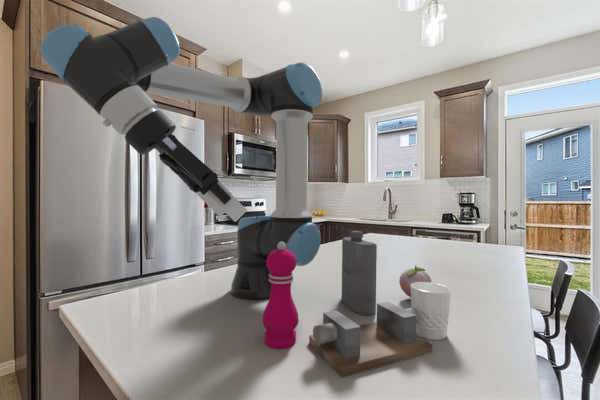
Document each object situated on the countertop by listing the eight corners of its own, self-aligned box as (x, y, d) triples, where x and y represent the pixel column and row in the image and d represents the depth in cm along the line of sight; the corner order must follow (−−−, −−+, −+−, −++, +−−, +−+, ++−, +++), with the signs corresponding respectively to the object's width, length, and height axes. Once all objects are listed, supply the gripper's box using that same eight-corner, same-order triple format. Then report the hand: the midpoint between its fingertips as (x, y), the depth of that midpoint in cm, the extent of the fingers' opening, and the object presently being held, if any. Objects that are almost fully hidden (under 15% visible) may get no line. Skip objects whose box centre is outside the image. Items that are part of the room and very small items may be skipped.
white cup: (447, 345, 58) (448, 295, 57) (406, 335, 62) (407, 288, 62) (451, 330, 64) (452, 285, 64) (413, 322, 68) (414, 279, 68)
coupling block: (302, 344, 57) (302, 311, 57) (393, 325, 67) (394, 296, 67) (333, 379, 46) (334, 338, 46) (437, 350, 56) (438, 316, 56)
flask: (336, 296, 86) (337, 228, 86) (355, 295, 87) (356, 228, 87) (357, 316, 71) (358, 235, 71) (379, 314, 72) (380, 234, 72)
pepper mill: (300, 333, 62) (301, 239, 62) (296, 351, 55) (297, 245, 54) (266, 331, 62) (267, 238, 62) (258, 349, 55) (259, 243, 55)
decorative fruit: (405, 292, 90) (406, 260, 90) (433, 298, 85) (434, 264, 85) (394, 300, 83) (394, 265, 83) (424, 307, 78) (424, 270, 78)
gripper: (129, 148, 58) (207, 223, 64) (109, 117, 35) (232, 237, 42) (160, 125, 60) (231, 199, 66) (159, 82, 37) (267, 200, 44)
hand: (232, 214), depth 54 cm, fingers open, 13 cm apart
